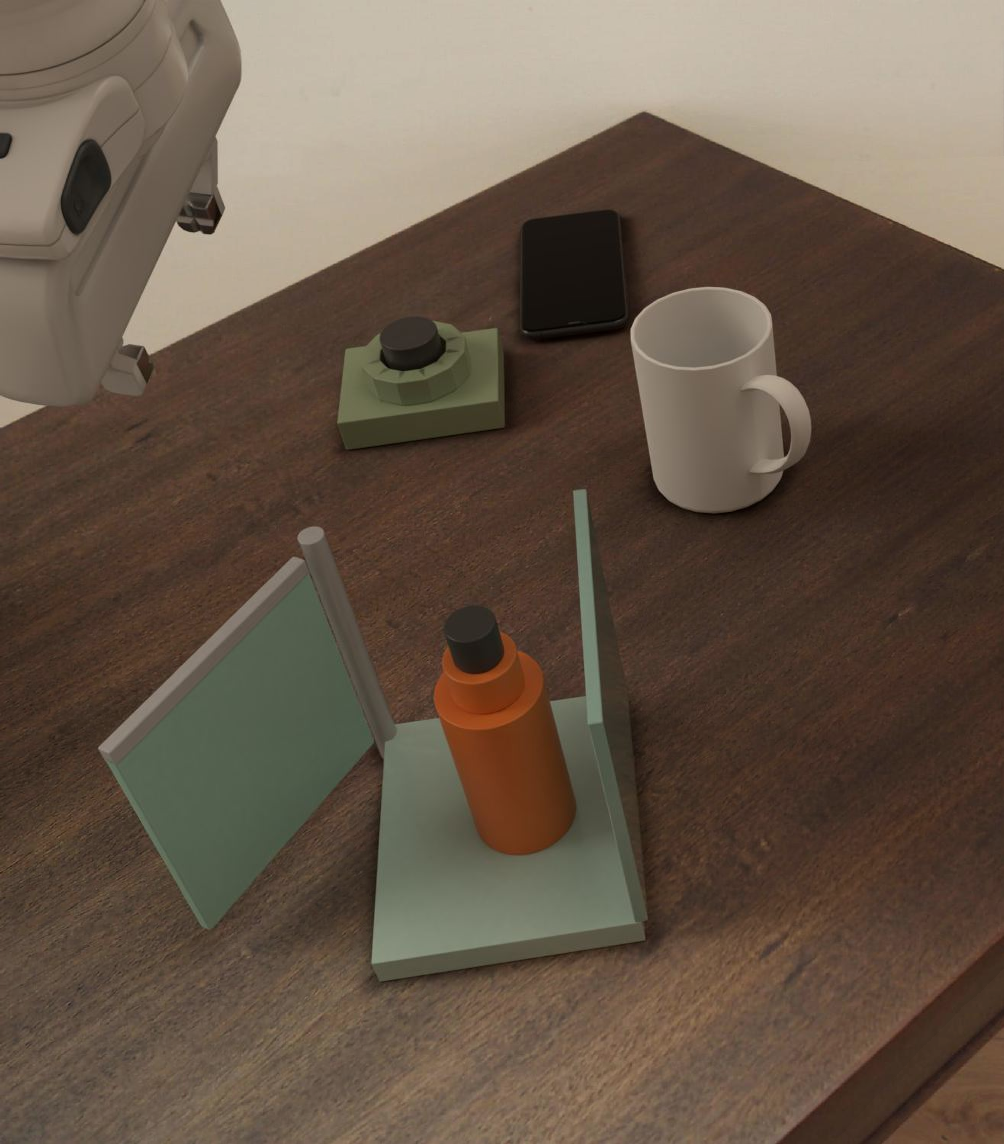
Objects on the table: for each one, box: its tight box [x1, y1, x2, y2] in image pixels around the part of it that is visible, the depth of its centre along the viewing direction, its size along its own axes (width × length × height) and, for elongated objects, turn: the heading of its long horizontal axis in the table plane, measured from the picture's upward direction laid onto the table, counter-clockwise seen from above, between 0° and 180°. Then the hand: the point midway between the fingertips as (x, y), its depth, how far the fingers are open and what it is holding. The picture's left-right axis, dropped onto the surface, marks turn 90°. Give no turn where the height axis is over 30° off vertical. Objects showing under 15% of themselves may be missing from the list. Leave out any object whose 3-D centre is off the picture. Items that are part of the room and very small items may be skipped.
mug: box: [630, 286, 812, 514], centre depth 89 cm, size 12×8×10 cm, turn 41°
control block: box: [336, 320, 506, 451], centre depth 100 cm, size 10×8×4 cm
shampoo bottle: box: [433, 604, 576, 855], centre depth 70 cm, size 5×5×13 cm
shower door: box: [97, 556, 375, 931], centre depth 70 cm, size 2×12×12 cm, turn 152°
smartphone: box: [518, 209, 630, 340], centre depth 110 cm, size 7×1×15 cm
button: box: [379, 315, 443, 371], centre depth 98 cm, size 4×4×2 cm
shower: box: [296, 488, 649, 983], centre depth 70 cm, size 13×14×15 cm
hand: (169, 299), depth 70 cm, fingers open, 8 cm apart
